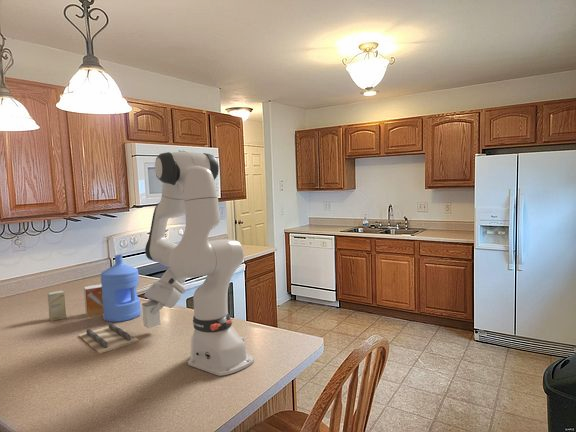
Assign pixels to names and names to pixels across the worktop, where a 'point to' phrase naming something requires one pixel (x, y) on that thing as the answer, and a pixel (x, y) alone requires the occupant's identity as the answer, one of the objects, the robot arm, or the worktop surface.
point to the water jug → (120, 292)
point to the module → (150, 314)
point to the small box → (93, 300)
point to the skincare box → (56, 305)
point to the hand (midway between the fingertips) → (149, 312)
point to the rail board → (108, 338)
